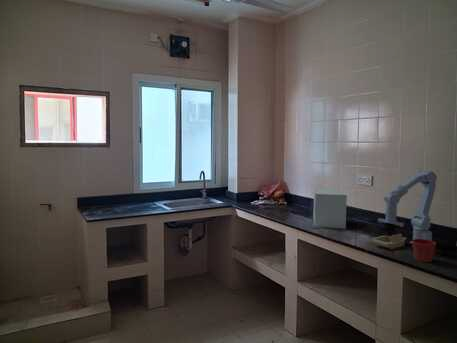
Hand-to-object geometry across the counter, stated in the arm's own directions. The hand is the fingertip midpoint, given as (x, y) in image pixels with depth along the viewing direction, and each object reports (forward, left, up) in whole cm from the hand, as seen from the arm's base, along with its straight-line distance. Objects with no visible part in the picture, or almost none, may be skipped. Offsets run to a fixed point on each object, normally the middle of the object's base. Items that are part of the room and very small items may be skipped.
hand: (390, 236), depth 202 cm
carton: (0, 0, -5) cm, 5 cm away
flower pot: (-24, +10, -6) cm, 26 cm away
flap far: (+8, 0, -3) cm, 8 cm away
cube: (+56, -14, -6) cm, 58 cm away
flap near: (-4, 0, 0) cm, 4 cm away
